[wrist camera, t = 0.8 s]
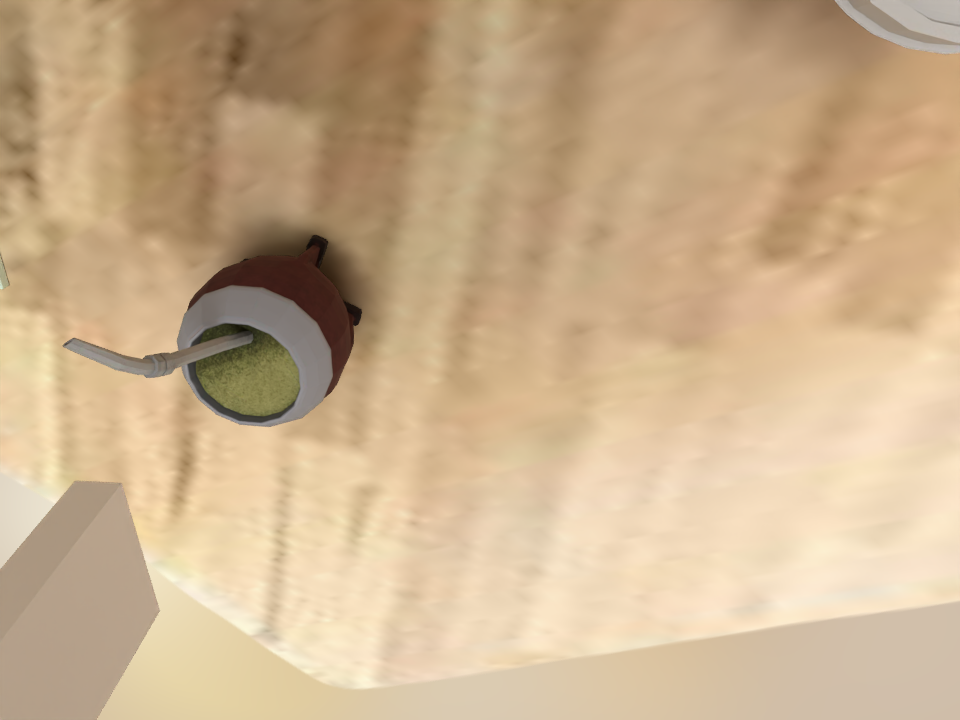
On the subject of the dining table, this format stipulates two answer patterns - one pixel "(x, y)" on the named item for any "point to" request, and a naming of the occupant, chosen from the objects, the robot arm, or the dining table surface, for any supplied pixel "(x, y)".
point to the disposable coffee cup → (910, 22)
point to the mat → (3, 276)
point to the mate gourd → (256, 340)
